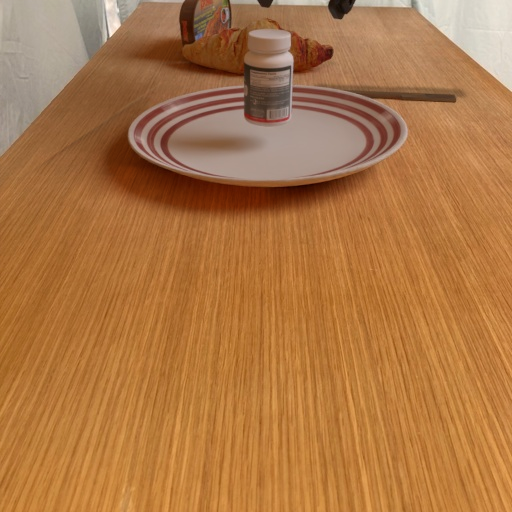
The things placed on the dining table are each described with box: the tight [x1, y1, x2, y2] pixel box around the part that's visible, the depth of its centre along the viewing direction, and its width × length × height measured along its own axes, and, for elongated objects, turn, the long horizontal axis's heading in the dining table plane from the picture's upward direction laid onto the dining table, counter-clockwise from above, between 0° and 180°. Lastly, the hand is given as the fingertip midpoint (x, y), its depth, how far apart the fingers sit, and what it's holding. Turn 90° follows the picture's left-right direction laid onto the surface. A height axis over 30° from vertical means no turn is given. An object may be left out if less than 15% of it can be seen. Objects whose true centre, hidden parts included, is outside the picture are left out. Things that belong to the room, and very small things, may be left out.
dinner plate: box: [127, 84, 409, 188], centre depth 69 cm, size 28×27×3 cm
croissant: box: [181, 17, 335, 75], centre depth 96 cm, size 21×10×8 cm, turn 85°
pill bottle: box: [243, 29, 294, 127], centre depth 67 cm, size 5×5×8 cm
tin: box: [178, 0, 233, 48], centre depth 104 cm, size 15×3×8 cm, turn 161°
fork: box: [342, 89, 457, 103], centre depth 86 cm, size 17×2×1 cm, turn 83°
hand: (296, 8), depth 66 cm, fingers open, 8 cm apart
